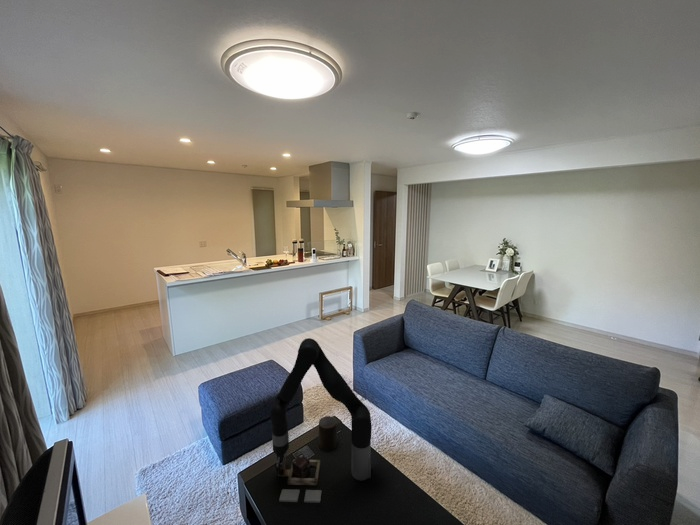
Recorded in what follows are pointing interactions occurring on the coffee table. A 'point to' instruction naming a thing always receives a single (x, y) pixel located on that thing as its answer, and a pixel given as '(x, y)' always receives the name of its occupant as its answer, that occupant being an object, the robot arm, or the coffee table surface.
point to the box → (301, 467)
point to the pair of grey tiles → (293, 495)
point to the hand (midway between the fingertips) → (281, 471)
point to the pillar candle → (327, 433)
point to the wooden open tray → (301, 480)
